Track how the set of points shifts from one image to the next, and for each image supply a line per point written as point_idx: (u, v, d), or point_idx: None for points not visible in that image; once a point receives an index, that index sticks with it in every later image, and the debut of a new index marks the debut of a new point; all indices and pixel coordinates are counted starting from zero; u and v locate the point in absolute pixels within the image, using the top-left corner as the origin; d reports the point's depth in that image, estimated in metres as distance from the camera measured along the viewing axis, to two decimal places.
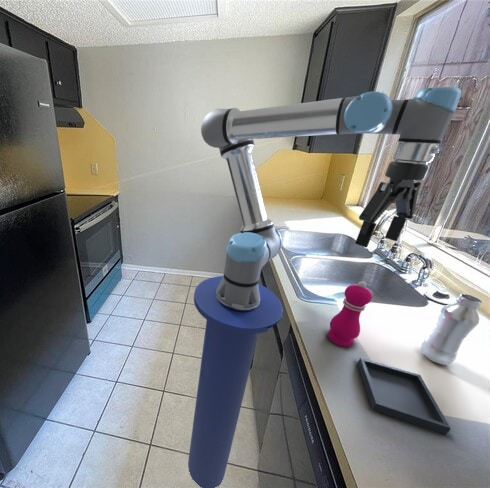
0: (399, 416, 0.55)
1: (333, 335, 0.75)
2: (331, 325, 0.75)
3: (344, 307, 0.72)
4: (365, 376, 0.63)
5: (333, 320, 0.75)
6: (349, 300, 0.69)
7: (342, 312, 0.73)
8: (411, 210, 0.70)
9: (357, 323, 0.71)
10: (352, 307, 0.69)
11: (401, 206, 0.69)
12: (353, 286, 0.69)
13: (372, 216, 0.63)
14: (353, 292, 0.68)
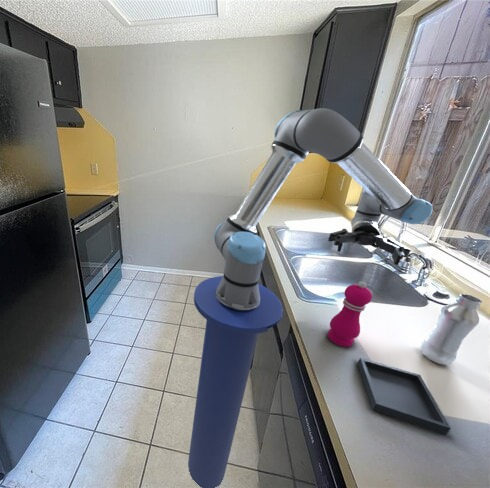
0: (399, 416, 0.55)
1: (333, 335, 0.75)
2: (331, 325, 0.75)
3: (344, 307, 0.72)
4: (365, 376, 0.63)
5: (333, 320, 0.75)
6: (349, 300, 0.69)
7: (342, 312, 0.73)
8: None
9: (357, 323, 0.71)
10: (352, 307, 0.69)
11: (348, 239, 0.83)
12: (353, 286, 0.69)
13: None
14: (353, 292, 0.68)
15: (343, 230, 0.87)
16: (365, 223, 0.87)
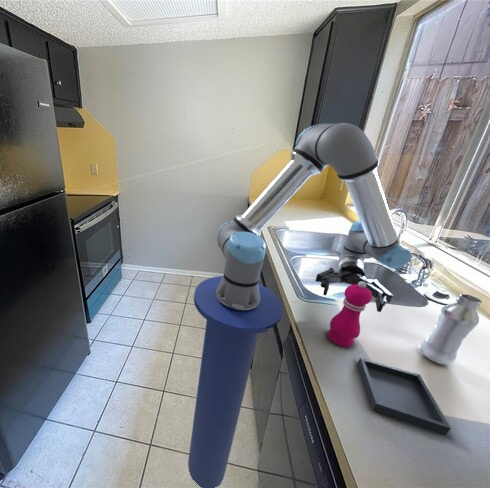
0: (399, 416, 0.55)
1: (333, 335, 0.75)
2: (331, 325, 0.75)
3: (344, 307, 0.72)
4: (365, 376, 0.63)
5: (333, 320, 0.75)
6: (349, 300, 0.69)
7: (342, 312, 0.73)
8: None
9: (357, 323, 0.71)
10: (352, 307, 0.69)
11: (334, 280, 0.86)
12: (353, 286, 0.69)
13: None
14: (353, 292, 0.68)
15: (330, 270, 0.90)
16: (351, 263, 0.90)
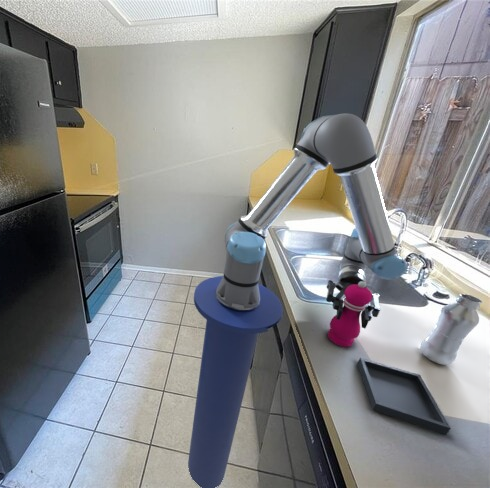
0: (399, 416, 0.55)
1: (333, 335, 0.75)
2: (331, 325, 0.75)
3: (344, 307, 0.72)
4: (365, 376, 0.63)
5: (333, 320, 0.75)
6: (349, 300, 0.69)
7: None
8: None
9: (357, 323, 0.71)
10: (352, 307, 0.69)
11: (343, 297, 0.77)
12: (353, 286, 0.69)
13: None
14: (353, 292, 0.68)
15: (331, 283, 0.81)
16: (352, 273, 0.83)
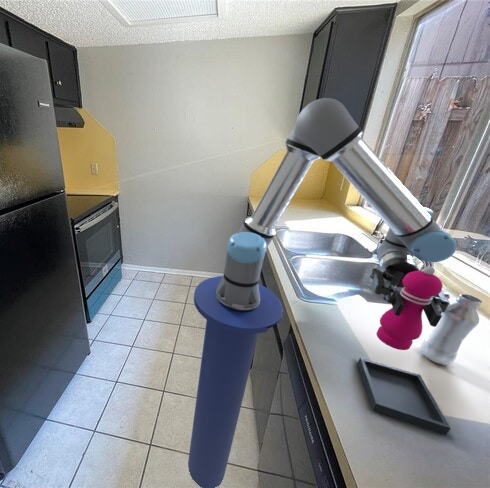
0: (399, 416, 0.55)
1: (385, 335, 0.60)
2: (383, 323, 0.60)
3: None
4: (365, 376, 0.63)
5: (386, 317, 0.60)
6: (411, 291, 0.54)
7: None
8: None
9: (420, 320, 0.56)
10: (415, 300, 0.54)
11: None
12: (416, 273, 0.54)
13: None
14: (418, 280, 0.53)
15: (378, 272, 0.66)
16: (401, 260, 0.68)
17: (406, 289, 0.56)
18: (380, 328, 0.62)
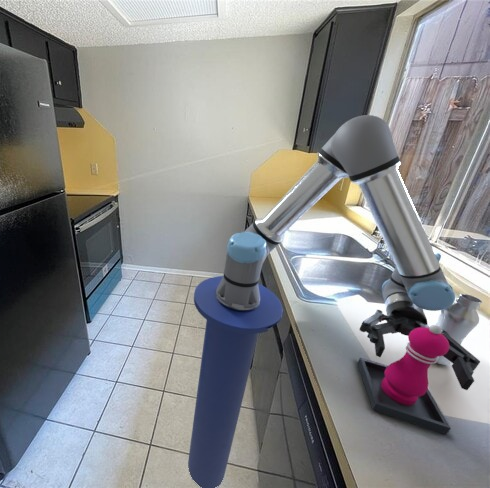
0: (399, 416, 0.55)
1: (390, 389, 0.59)
2: (388, 376, 0.59)
3: (408, 356, 0.56)
4: (365, 376, 0.63)
5: (391, 370, 0.58)
6: (417, 349, 0.53)
7: (404, 362, 0.56)
8: None
9: (425, 377, 0.55)
10: (421, 358, 0.53)
11: (387, 330, 0.63)
12: (422, 331, 0.53)
13: None
14: (424, 339, 0.52)
15: (378, 313, 0.67)
16: (407, 304, 0.67)
17: (412, 346, 0.55)
18: (385, 379, 0.61)
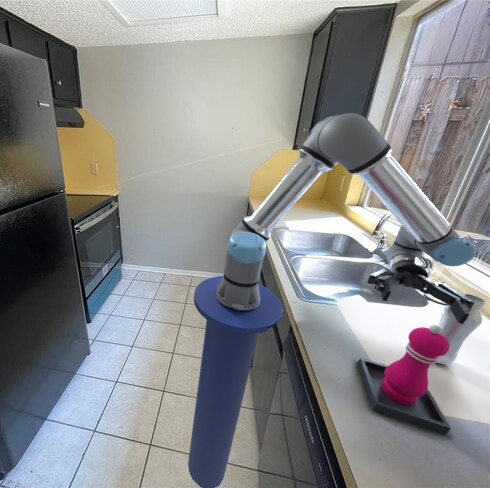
0: (399, 416, 0.55)
1: (390, 389, 0.59)
2: (388, 376, 0.59)
3: (408, 356, 0.56)
4: (365, 376, 0.63)
5: (391, 370, 0.58)
6: (417, 349, 0.53)
7: (404, 362, 0.56)
8: None
9: (425, 377, 0.55)
10: (421, 358, 0.53)
11: (392, 282, 0.70)
12: (422, 331, 0.53)
13: None
14: (424, 339, 0.52)
15: (384, 269, 0.74)
16: (410, 261, 0.74)
17: (412, 346, 0.55)
18: (385, 379, 0.61)
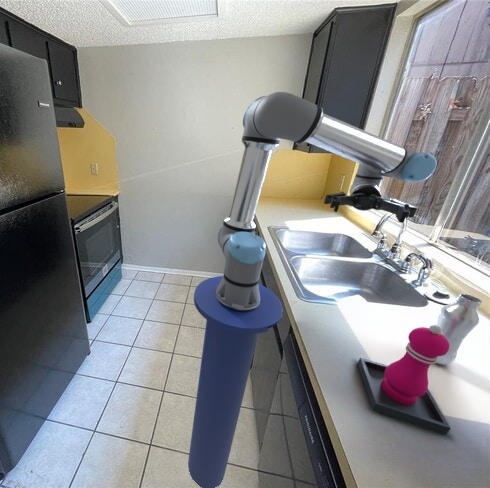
0: (399, 416, 0.55)
1: (390, 389, 0.59)
2: (388, 376, 0.59)
3: (408, 356, 0.56)
4: (365, 376, 0.63)
5: (391, 370, 0.58)
6: (417, 349, 0.53)
7: (404, 362, 0.56)
8: (330, 202, 0.76)
9: (425, 377, 0.55)
10: (421, 358, 0.53)
11: (346, 201, 0.74)
12: (422, 331, 0.53)
13: None
14: (424, 339, 0.52)
15: (341, 193, 0.78)
16: (365, 185, 0.78)
17: (412, 346, 0.55)
18: (385, 379, 0.61)
